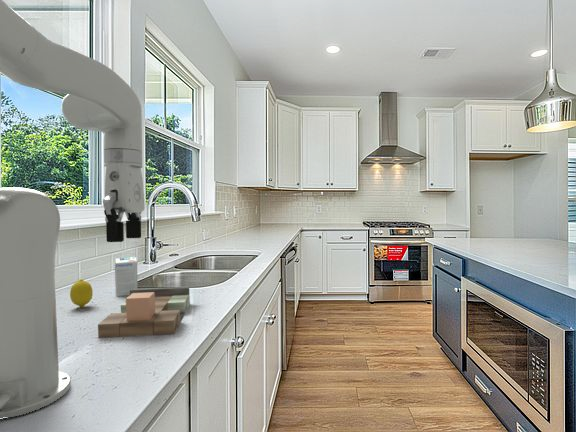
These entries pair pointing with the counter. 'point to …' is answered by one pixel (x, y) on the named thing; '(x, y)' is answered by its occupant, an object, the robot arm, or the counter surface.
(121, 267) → the light bulb box
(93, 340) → the counter surface
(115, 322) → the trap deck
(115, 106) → the robot arm
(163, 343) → the counter surface
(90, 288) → the lemon
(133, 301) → the block
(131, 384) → the counter surface
